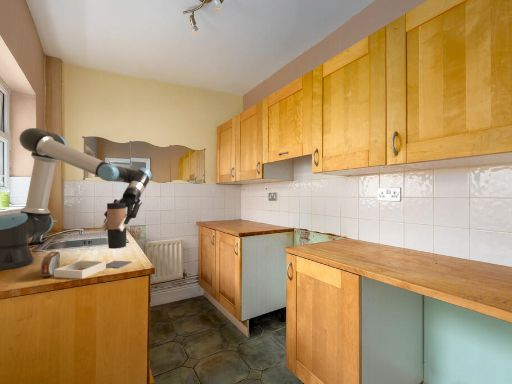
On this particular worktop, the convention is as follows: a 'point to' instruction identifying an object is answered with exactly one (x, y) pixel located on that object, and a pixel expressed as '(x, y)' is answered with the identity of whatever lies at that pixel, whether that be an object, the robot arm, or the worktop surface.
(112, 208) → the travel mug
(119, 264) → the mat
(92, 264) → the tray rim
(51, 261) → the brown arched piece
